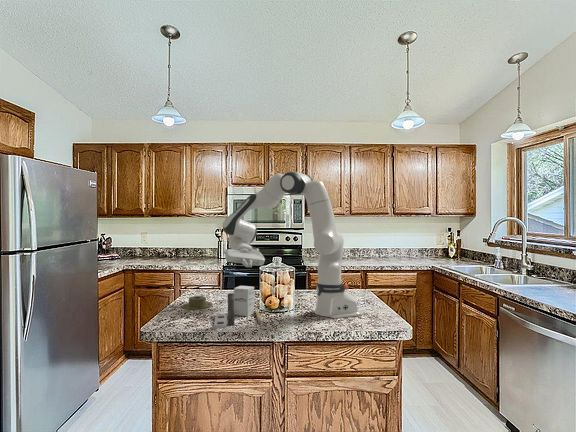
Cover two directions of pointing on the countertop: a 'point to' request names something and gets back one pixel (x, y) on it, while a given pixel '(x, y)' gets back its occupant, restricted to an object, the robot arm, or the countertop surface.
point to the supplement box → (243, 300)
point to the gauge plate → (220, 321)
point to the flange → (197, 303)
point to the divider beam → (231, 310)
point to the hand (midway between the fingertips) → (248, 266)
